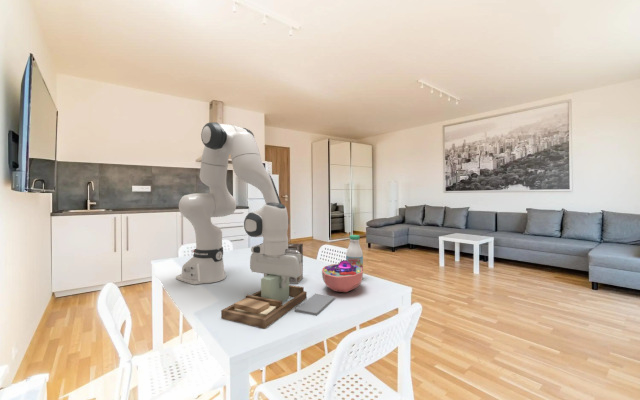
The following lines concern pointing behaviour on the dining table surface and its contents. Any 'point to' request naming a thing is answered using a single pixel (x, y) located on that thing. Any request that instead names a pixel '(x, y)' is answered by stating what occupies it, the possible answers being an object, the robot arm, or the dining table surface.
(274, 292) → the pale green cuboid
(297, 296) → the frame
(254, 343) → the dining table surface
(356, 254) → the milk bottle
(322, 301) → the slate pad
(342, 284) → the cell model
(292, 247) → the coffee box
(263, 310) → the offcut stack
